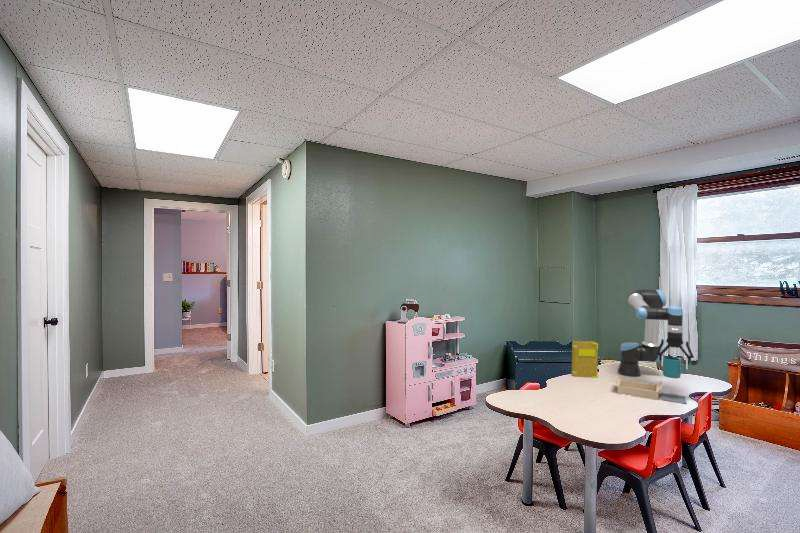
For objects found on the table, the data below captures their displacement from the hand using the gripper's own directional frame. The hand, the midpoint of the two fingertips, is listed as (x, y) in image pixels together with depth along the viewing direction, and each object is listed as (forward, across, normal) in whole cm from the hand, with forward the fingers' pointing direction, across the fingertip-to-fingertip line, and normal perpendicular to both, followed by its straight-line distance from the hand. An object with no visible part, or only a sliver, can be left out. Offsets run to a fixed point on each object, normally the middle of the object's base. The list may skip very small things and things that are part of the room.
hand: (674, 367), depth 245 cm
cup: (+6, 0, 0) cm, 6 cm away
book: (+19, -54, +24) cm, 62 cm away
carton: (+19, -19, 0) cm, 27 cm away
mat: (+19, 0, 0) cm, 19 cm away
